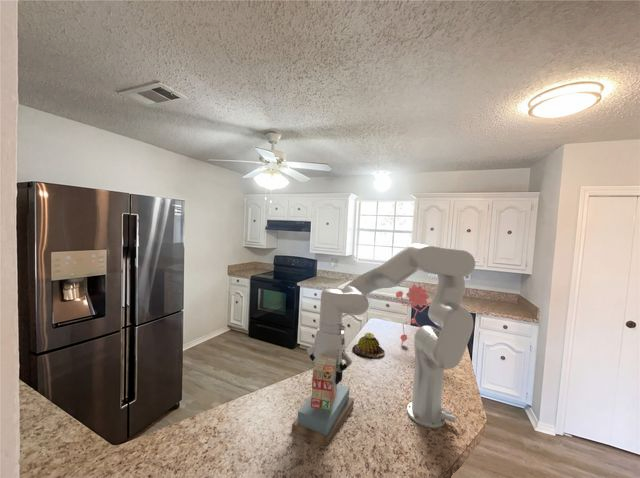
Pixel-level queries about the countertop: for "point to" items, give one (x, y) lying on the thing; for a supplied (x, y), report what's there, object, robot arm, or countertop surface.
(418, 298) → the pink flower arrangement
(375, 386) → the countertop surface
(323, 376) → the stack of blocks
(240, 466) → the countertop surface
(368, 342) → the cactus
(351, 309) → the robot arm
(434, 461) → the countertop surface
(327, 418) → the tower top slab
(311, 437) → the tower base slab
